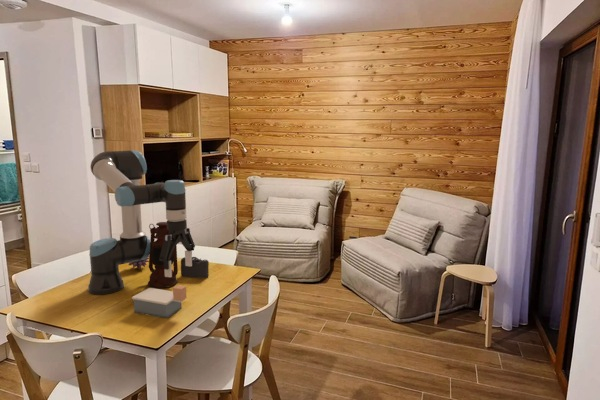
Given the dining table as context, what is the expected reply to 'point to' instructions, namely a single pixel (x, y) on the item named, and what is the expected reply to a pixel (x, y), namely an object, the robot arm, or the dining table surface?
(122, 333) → the dining table surface
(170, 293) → the lid
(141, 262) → the purple spiky ball
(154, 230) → the lantern
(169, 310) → the tub
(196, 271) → the camera
